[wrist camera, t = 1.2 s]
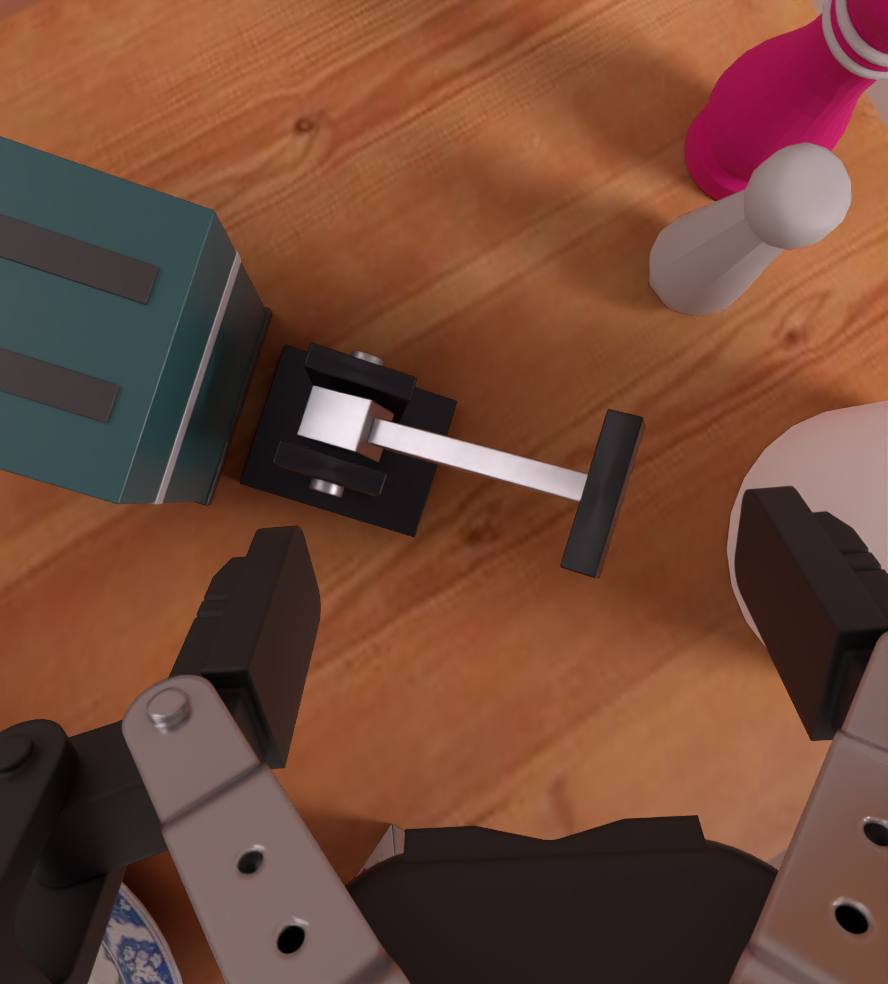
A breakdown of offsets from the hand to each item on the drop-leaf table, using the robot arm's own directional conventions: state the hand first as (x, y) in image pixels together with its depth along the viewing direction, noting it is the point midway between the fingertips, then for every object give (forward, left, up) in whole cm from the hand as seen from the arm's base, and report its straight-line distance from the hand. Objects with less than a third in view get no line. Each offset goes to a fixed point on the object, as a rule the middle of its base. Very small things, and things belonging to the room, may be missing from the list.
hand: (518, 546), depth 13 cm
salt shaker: (+21, -4, -29) cm, 36 cm away
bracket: (+1, +5, -28) cm, 29 cm away
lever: (+3, 0, -16) cm, 17 cm away
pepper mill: (+29, -2, -29) cm, 41 cm away
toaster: (-3, +16, -28) cm, 33 cm away
